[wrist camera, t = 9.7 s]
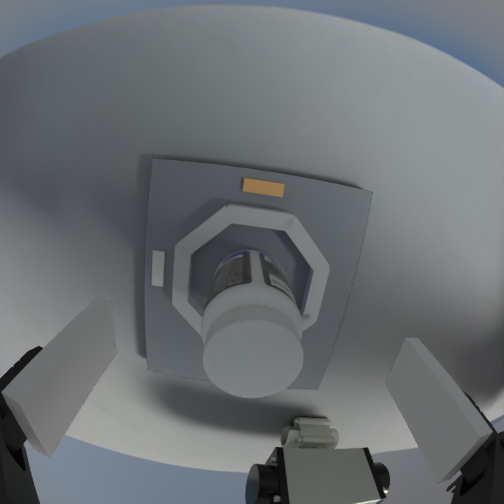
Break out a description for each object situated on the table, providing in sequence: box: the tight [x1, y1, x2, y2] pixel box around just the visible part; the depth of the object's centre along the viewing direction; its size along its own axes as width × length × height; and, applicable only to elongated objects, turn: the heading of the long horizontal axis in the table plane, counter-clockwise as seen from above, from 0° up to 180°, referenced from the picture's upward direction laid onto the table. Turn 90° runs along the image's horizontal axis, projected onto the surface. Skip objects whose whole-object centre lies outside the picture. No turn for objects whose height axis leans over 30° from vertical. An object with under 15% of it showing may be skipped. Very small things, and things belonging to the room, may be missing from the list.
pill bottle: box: [201, 250, 304, 398], centre depth 14 cm, size 5×5×8 cm
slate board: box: [144, 159, 373, 389], centre depth 19 cm, size 14×16×2 cm
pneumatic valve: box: [245, 417, 390, 504], centre depth 19 cm, size 6×12×12 cm, turn 75°
